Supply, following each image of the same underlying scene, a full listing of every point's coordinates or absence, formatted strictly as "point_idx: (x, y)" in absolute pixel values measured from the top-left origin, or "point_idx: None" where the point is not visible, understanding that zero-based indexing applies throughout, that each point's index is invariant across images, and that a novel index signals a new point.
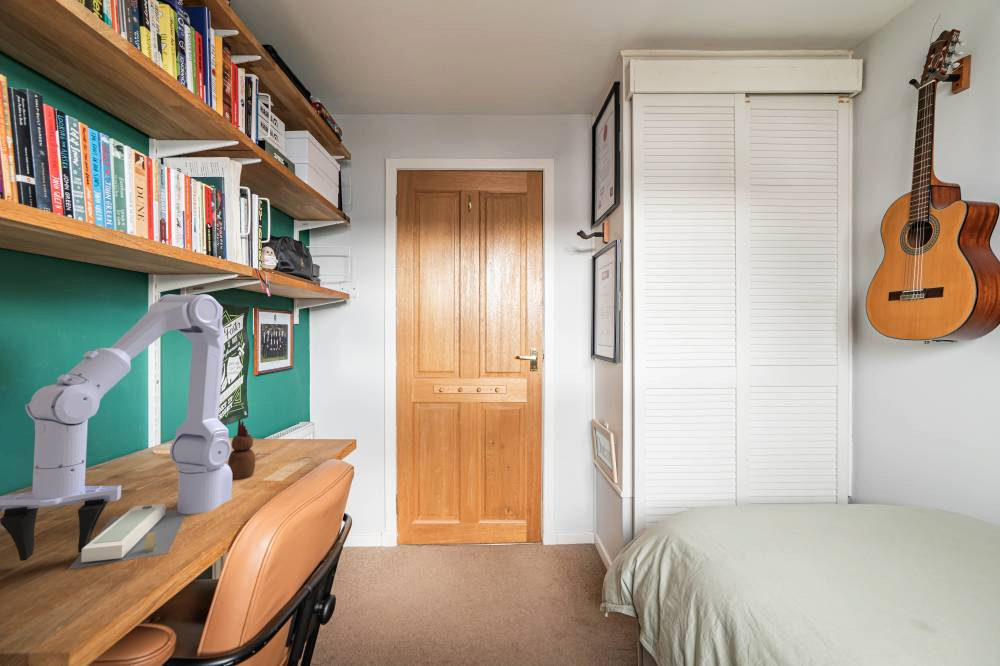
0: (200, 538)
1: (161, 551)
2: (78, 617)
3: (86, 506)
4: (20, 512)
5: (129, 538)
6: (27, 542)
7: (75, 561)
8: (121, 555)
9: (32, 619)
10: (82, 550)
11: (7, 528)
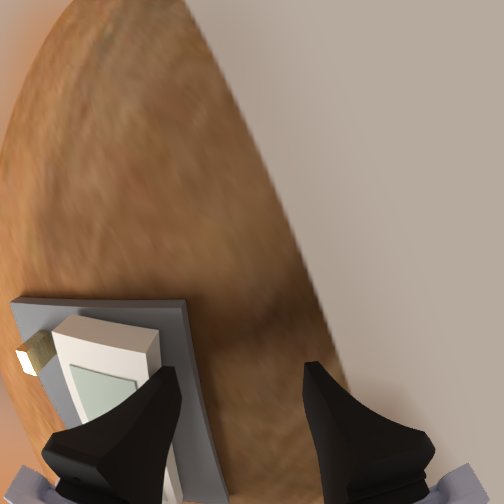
0: (22, 373)
1: (24, 320)
2: (85, 59)
3: (97, 485)
4: (373, 495)
5: (64, 372)
6: (316, 405)
7: (186, 351)
8: (68, 317)
9: (170, 65)
10: (145, 350)
11: (393, 424)
